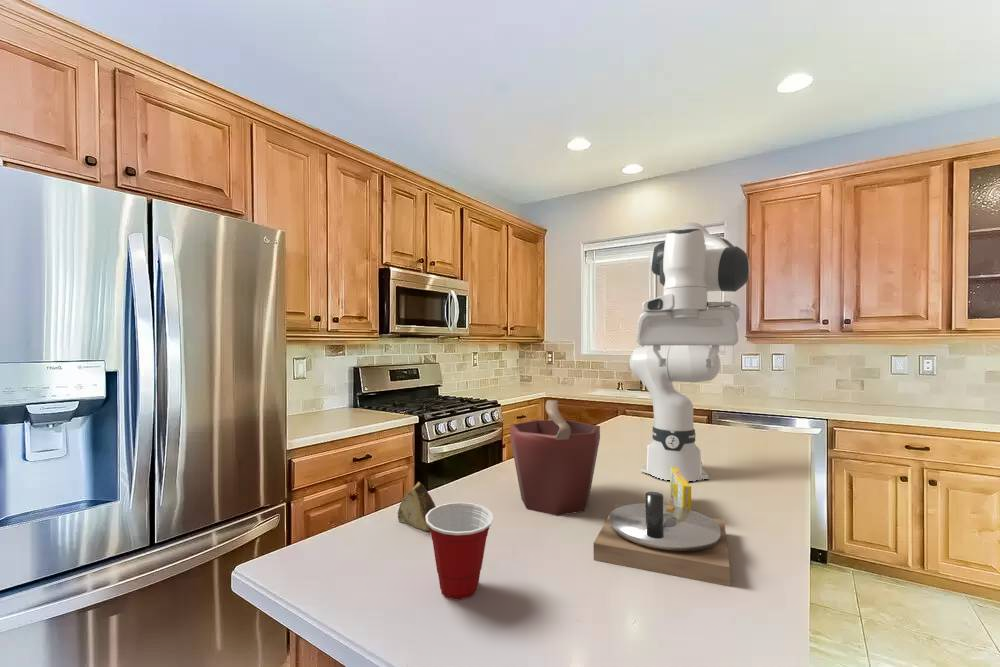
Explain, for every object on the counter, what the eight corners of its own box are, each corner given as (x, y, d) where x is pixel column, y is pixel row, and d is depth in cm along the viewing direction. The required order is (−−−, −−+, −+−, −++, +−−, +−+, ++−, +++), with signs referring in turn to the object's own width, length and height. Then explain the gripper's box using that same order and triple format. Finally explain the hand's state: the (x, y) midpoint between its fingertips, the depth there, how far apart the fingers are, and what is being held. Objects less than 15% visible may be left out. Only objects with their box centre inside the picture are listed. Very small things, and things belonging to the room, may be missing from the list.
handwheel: (624, 503, 101) (624, 465, 102) (724, 520, 91) (724, 478, 92) (596, 535, 84) (595, 489, 84) (715, 561, 74) (714, 508, 74)
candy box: (692, 524, 99) (691, 486, 99) (681, 524, 99) (681, 485, 99) (678, 500, 115) (678, 466, 115) (669, 499, 115) (669, 466, 115)
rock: (383, 510, 100) (394, 519, 92) (406, 475, 104) (418, 481, 95) (422, 534, 103) (436, 545, 94) (443, 500, 107) (458, 507, 98)
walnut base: (615, 518, 102) (615, 504, 102) (724, 534, 93) (724, 519, 93) (593, 559, 82) (593, 543, 82) (729, 586, 73) (729, 567, 73)
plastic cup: (435, 617, 65) (435, 532, 65) (417, 581, 75) (417, 507, 75) (504, 600, 69) (504, 520, 69) (479, 568, 79) (479, 498, 79)
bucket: (591, 526, 97) (590, 409, 98) (493, 514, 104) (493, 405, 105) (603, 492, 120) (602, 397, 121) (522, 484, 128) (522, 394, 128)
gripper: (738, 302, 97) (739, 367, 97) (638, 305, 105) (639, 365, 105) (740, 299, 91) (741, 368, 91) (634, 303, 100) (635, 366, 99)
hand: (685, 367), depth 98 cm, fingers open, 8 cm apart
